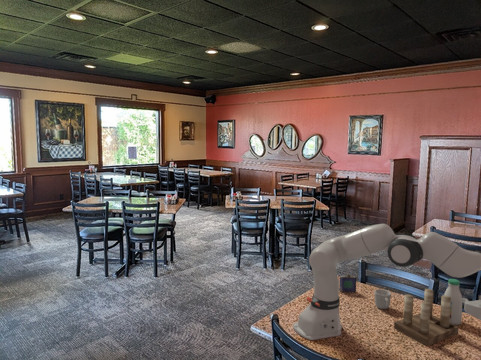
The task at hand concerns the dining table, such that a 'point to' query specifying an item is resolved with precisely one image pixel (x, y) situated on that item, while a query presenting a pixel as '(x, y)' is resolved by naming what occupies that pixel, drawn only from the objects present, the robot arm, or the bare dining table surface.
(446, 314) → the loose leg
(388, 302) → the cup
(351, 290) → the flask
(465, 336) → the dining table surface
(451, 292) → the milk bottle
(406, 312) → the stool
